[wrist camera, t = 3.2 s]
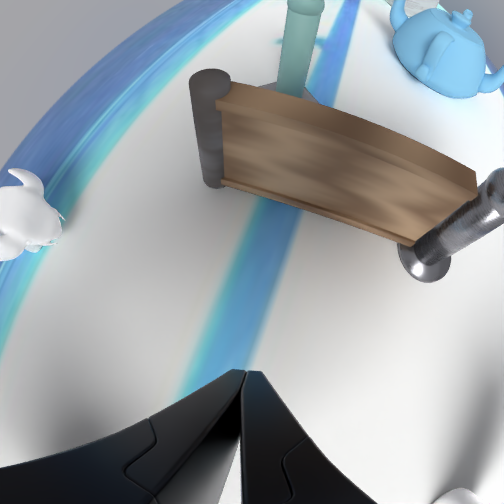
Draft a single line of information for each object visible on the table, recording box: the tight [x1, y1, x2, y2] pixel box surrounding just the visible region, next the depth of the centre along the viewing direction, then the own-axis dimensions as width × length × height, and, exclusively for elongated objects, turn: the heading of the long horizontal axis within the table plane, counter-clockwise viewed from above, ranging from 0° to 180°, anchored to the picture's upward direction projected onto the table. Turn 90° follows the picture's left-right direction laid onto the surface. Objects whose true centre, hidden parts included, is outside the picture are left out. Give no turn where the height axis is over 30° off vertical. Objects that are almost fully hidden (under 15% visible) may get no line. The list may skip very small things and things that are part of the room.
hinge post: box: [398, 168, 504, 283], centre depth 16 cm, size 5×5×11 cm
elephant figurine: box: [0, 168, 66, 261], centre depth 17 cm, size 7×8×6 cm
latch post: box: [259, 0, 324, 104], centre depth 20 cm, size 4×4×11 cm
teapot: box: [390, 0, 504, 98], centre depth 25 cm, size 15×15×10 cm
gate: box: [189, 69, 478, 247], centre depth 17 cm, size 16×2×9 cm, turn 72°
